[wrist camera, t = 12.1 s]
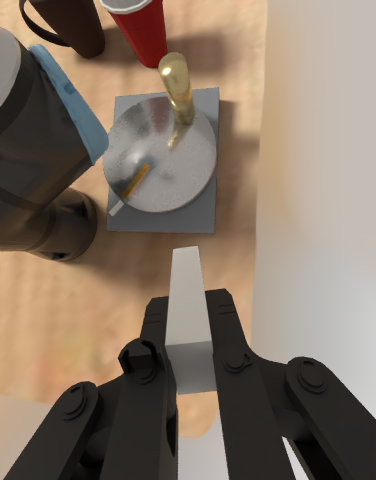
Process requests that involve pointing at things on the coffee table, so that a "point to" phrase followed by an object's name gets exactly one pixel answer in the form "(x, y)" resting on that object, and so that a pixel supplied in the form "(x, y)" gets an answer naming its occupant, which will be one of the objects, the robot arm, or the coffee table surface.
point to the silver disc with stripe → (162, 147)
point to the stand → (188, 218)
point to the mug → (69, 24)
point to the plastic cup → (141, 27)
